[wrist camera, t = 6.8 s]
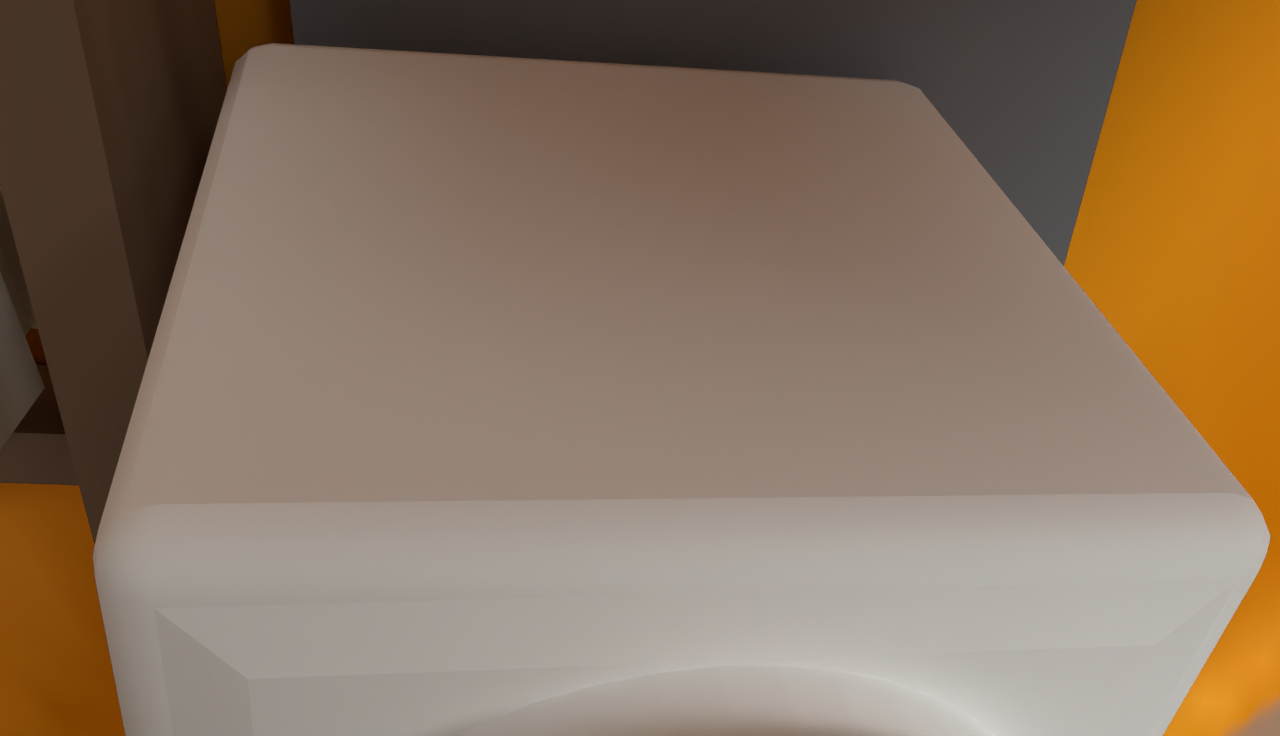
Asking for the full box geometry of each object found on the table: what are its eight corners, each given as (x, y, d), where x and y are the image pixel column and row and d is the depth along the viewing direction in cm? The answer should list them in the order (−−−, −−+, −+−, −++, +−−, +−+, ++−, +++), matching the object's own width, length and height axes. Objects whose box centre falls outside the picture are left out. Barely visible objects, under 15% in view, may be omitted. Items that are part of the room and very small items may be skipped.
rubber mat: (1124, -40, 13) (1143, -25, 13) (963, 569, 18) (973, 597, 18) (295, -80, 13) (282, -66, 13) (361, 549, 18) (353, 577, 17)
